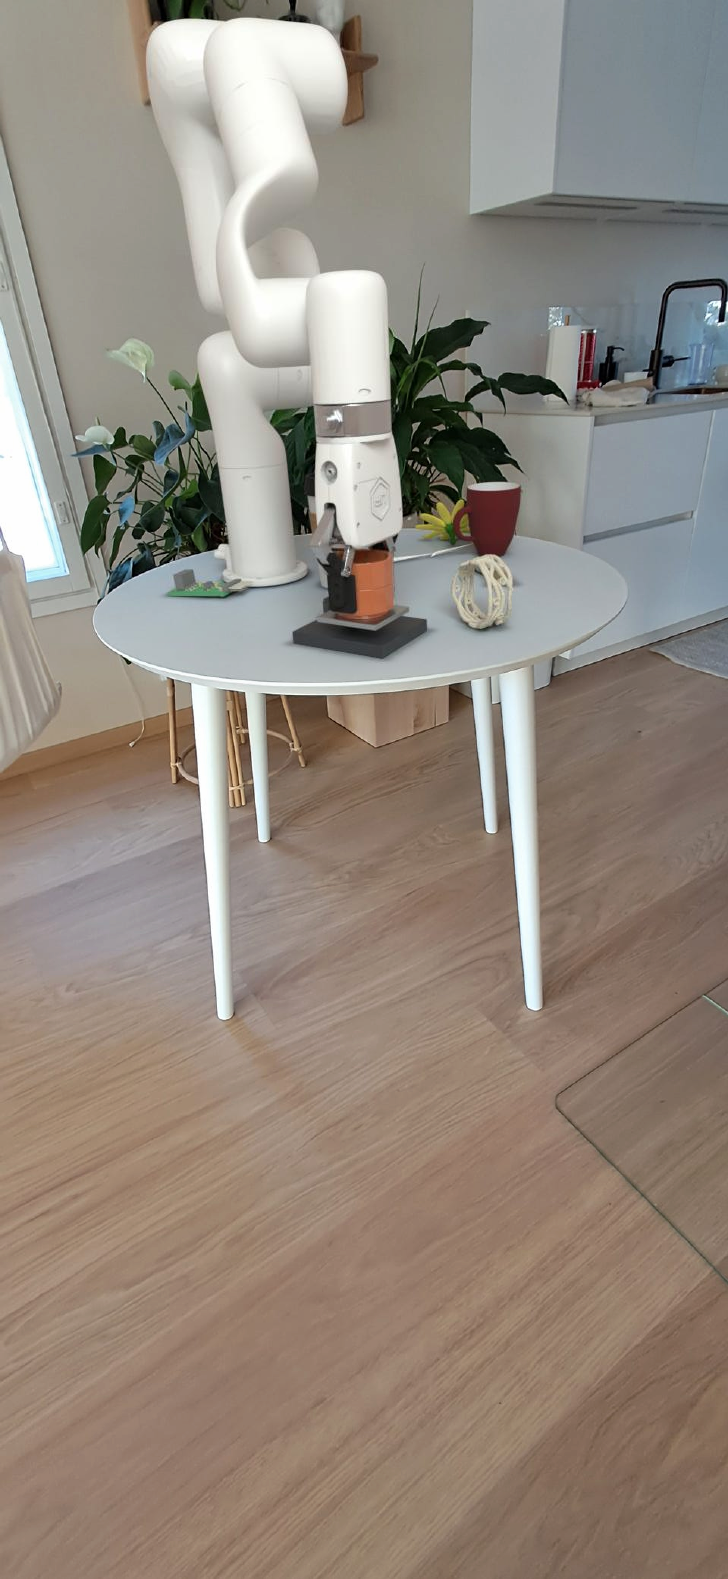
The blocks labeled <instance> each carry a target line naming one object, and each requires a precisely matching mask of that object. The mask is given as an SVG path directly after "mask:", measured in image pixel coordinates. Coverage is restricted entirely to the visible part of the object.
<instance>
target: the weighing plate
mask: <svg viewBox="0 0 728 1579" xmlns="http://www.w3.org/2000/svg"><path fill="white" fill-rule="evenodd" d="M409 612H410V607H409V606H406V605H399V604H394V607H393V608H392V609H390V610H389V612H388V613H387V614H386V615H383V616H381V617H377V618H372V619H348V618H344V617H342V616H340V615H339V614H338V613H336V612H332V611H331V610H330V611H328V612H326V613H322V614H320V615H318V616H316V620H317V622H322V623H328V624H335V625H342V626H348V627H355V628H362V629H368V630H375V631H376V630H378V629H379V628H381V627H383V626H385V625H386V624H388V623H390V622H392V621H393V620H395V619H397V618H399V617H400V616H405V615H406V614H407V613H409Z"/></svg>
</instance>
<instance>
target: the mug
mask: <svg viewBox="0 0 728 1579" xmlns="http://www.w3.org/2000/svg"><path fill="white" fill-rule="evenodd" d="M521 496H522V485H521V484H520V483H517V482H510V481H488V482H487V481H486V482H478V483H473V484H469V485H468V486H466V496H465V498H466V500H465V501H466V502H465V505H466V506H464V507H463V508H461V509H459V510H458V511H457V513H456V514H455V516H454V519H453V532H454V534H455V535H456V537H458V538H459V539H458V540H460V541H464V542H471V543H472V545H473V546H474V548H475V550H476V552H477V554H478V555H479V557H481V556H484V555H496V556H498V557H499V558H500V557H503V556H504V555H505V554H506V552H507V550H508V549H509V547H510V545H511V543H512V541H513V540H514V536H515V531H516V526H517V522H518V517H519V512H520V507H521V500H522V498H521ZM465 514H467V515H468V521H469V526H468V527H469V528H470V534H469V535H464V534H463V535H464V536H463V535H462V534H461V532H460V521H461V519H462V517H463V516H464V515H465Z"/></svg>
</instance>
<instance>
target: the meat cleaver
mask: <svg viewBox="0 0 728 1579" xmlns="http://www.w3.org/2000/svg"><path fill="white" fill-rule="evenodd" d="M487 568H488V569H489V567H488V566H487ZM474 571H476V572H477V573H479V574H481V575H483V574H482V572H481V570H480V568H479V566H477V567H476V568H475V570H474ZM489 571H490V569H489ZM503 572H504V574H505V576H506V577H507V574H506V572H505V571H504V569H503ZM493 577H494V578H495V579H496V580H498V579H500V578H501V577H500V576H499V575H498V573H497V572H496V571H495V569H494V573H493ZM513 585H515V582H514V581H513V582H512V586H513ZM503 586H504V587H506V585H503ZM503 586H502V587H503Z"/></svg>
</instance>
